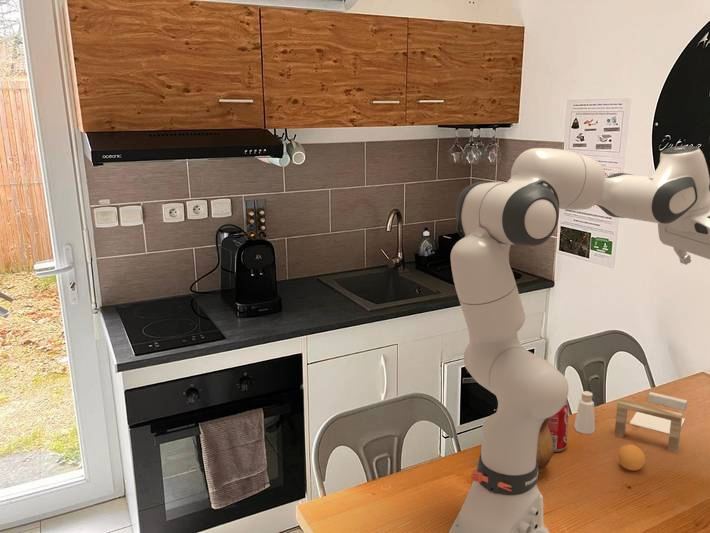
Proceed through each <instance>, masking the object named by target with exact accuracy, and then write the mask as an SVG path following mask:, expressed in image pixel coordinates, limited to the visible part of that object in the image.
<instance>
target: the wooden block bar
mask: <svg viewBox="0 0 710 533" xmlns="http://www.w3.org/2000/svg"><path fill="white" fill-rule="evenodd" d="M647 399H648V400H647V401H648V403H652V404H657V405H660V406H665V407H668V408H673V409H676V410H681V411H686V409H687V404H688V400H687V399H682V398H680V397H679V398H678V397H674V396H670V395H666V394H661V393H656V392H653V391H650V392H649V393H648V398H647Z"/></svg>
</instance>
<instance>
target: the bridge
mask: <svg viewBox="0 0 710 533" xmlns="http://www.w3.org/2000/svg"><path fill="white" fill-rule="evenodd" d="M628 410H629V411H633V412H635V413H636V412H640V413H644V414H648V415H652V416H656V417H660V418H664V419H668V420H671V425H670V434H668V444H667V451H668V452H671V453H675V454H677V453H678V450H679V446H680V438H681V429H682V427H681V423H682V418H683V413H681V412H676V411H673V410H668V409H666V408H665V409H664V408H660V407H657V406H652V405H648V404H645V403H640V402H636V401H632V400H627V399H625V398H624V399H623V398H619V400H618V401H617V404H616V413H615V426H614V437H619V438H622V439H623V438H624V436H625V434H626V429H627V417H628Z"/></svg>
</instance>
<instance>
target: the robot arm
mask: <svg viewBox="0 0 710 533" xmlns="http://www.w3.org/2000/svg"><path fill="white" fill-rule="evenodd" d="M519 154H520V155H518V156H517V157H516V159H515V160H514V163H513V164H512V168H511V171H510V178H509V179H508V180H507V182H505V181H499V182H498V181H493V182H491V181H479V182H475V183H472V184H470V185H468V186H466V187H465V188H463V189H462V191H461V192H460V194H459V195H458V197H457V200H456V204H455V219H456V232H457V234H458V235H459V236H460V238H461V239H459V240H458V241H456V243H455V244H454V245H453V247H452V249H451V252H450V266H451V273H452V278H453V283H454V284H453V285H454V287H455V291H456V294H457V298H458V302H459V304H460V306H461V310H462V314H463V316H464V317H463V318H464V321H465V322H466V327H467V331H468V337H469V343H468V344H467V346H466V348H465V351H464V353H463V364H464V367H465V369H466V370H467V372H468V373H469V374H470V376H471V377H472V378H473V379H474V380H475V382H477V383H478V384H479V385H480V386H481V387H483V388H484V389H486V390H488V391H489V392H490V393H492V394H493V395H494V396H496V399H497V408H496V412H495V413H493V414H491V415H490V416H489V415H488V417H487V418H486V419H485V420H484V421H483V423H482V428H481V452H480V455H479V457H478V461H477V463H476V464H477V466H476V470H473V471H472V473H471V476H470V478H471V480H472V484H471V486H470V488H469V491H468V493H467V496H466V498H465V500H464V502H463V504H462V505H461V508H460V510H459V512H458V514H457V516H456V518H455V520H454V522H453V524H452V526H451V527H450V530H448V533H550V531H549V529H548V528H547V527H546V526H545V525H544V497H543V494H542V493H541V492H540V489H539V488H538V485H537V483H538V479H539V478H538V476H539V472H538V463H537V461H536V455H537V444H538V435H539V431H540V428H541V425H542V423H543V422H544V420H545V419H546V418H549V417H552V416H553V415H555V414H556V413H558V412H559V411H560V410H561V409H562V407H563V406H564V404H565V402H566V400H567V401H568V396H569V383H568V380H567V378H566V377H565V375H564V374H563V373H561V371H559V369H558V368H556V367H555V366H554V365H553V364H552V363H551V362H549V360H547V359H544V358H542V356H541V357H540V356H539V355H537V354H535V353H533V352H531V351H529V350H527V348H525V347H524V346H523V344H522V343H521V342H520V340H519V336H518V332H519V331H520V330H521V329H522V327H523V326H524V324H525V321H526V314H525V310H524V307H523V303H522V299H521V297H520V296H521V295H520V293H519V290H518V286H517V282H516V279H515V276H514V272H513V270H512V268H511V265H510V250H511V249H510V248H511V246H512V245H515V246H517V247H524V248H525V247H536V246H540V245H542V244H543V245H544V244H545V243H546V242H547V241H548V240H550V238H551V237H552V236H553V234H554V232H555V231H556V228H557V225H558V222H559V218H560V209H561V210H571V211H574V210H575V211H580V210H581V211H582V210H588V209H590V208H592V207H594V206H597V207H599V209H601V210H602V211H603V213H605V214H606V215H607V216H610V217H612V218H620V219H631V220H638V221H643V222H648V223H655V224H657V231H658V238H659V241H660V242H661V244H663V245H665V246H668V247H672V248H673V251H674V252H675V253H676V255H677V256H678V258H679V262H680V264H682V265H688V264H690V263H691V262H692V259H691V255H689V254H688V253H690V254H693V255H695V256H698V257H701V258H704V259H708V260H710V174H709V173H710V172H709V167H708V164H707V162H706V161H707V160H706V158H705V155H704V153H703V151H702V150H701V149H700V147H697V146H693V145H679V146H678V145H676V146H671V147H669V148H664V149H663V150H662V151H660V156H659V163H658V165H657V168H656V169H655V171H654V172H653V173H652V174H651V175H650V176H649V175H640V174H639V175H638V174H637V175H636V174H631V173H625V172H616V173H613V174H610V175H608V176H607V175H606V172H605V169H604V166H603V164H602V163H601V162H599V161H598V160H596V159H594V158H592V157H590V156H588V155H585V154H583V153H579V152H575V151H571V150H566V149H560V148H550V147H534V148H528V149H526V150H524V151H523V152H522V153H519Z"/></svg>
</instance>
